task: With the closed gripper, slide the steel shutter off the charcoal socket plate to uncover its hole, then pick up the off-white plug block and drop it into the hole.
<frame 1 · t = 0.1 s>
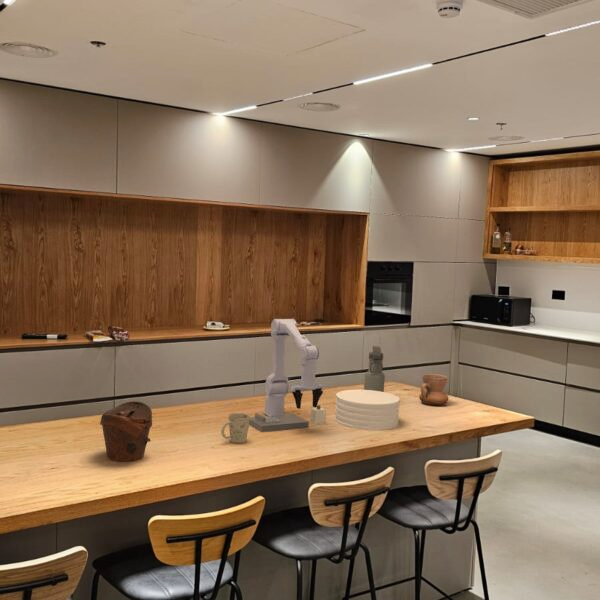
hand: (306, 407, 290), 10 cm above the kitchen island, tool pointing down, fingers open, 7 cm apart
brown rounded container: (125, 456, 247), on the kitchen island
grey stone figurine: (373, 403, 348), on the kitchen island
shutter: (267, 417, 295), point 4 cm above the kitchen island, slide at 0.0 cm
ceramic jug: (432, 404, 355), on the kitchen island
plug: (317, 422, 306), on the kitchen island
mug: (234, 442, 271), on the kitchen island
socket: (277, 425, 298), on the kitchen island
plate stack: (366, 422, 313), on the kitchen island
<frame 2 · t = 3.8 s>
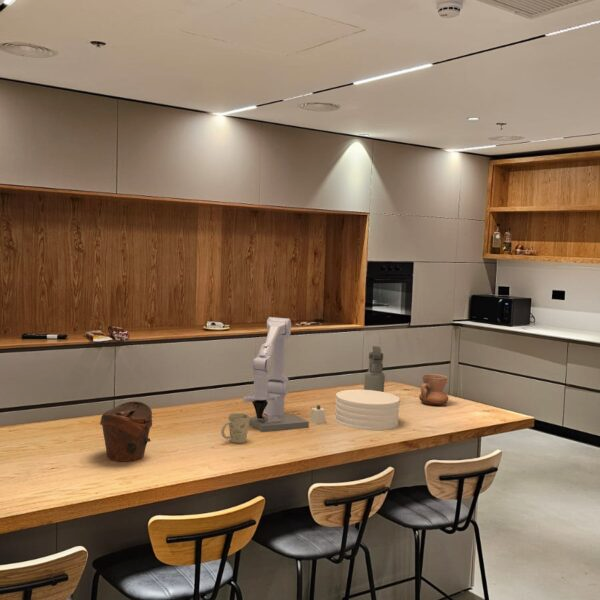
hand: (259, 418, 293), 4 cm above the kitchen island, tool pointing down, fingers closed
shutter: (269, 417, 296), point 4 cm above the kitchen island, slide at 1.0 cm, touching gripper
everything else where it was.
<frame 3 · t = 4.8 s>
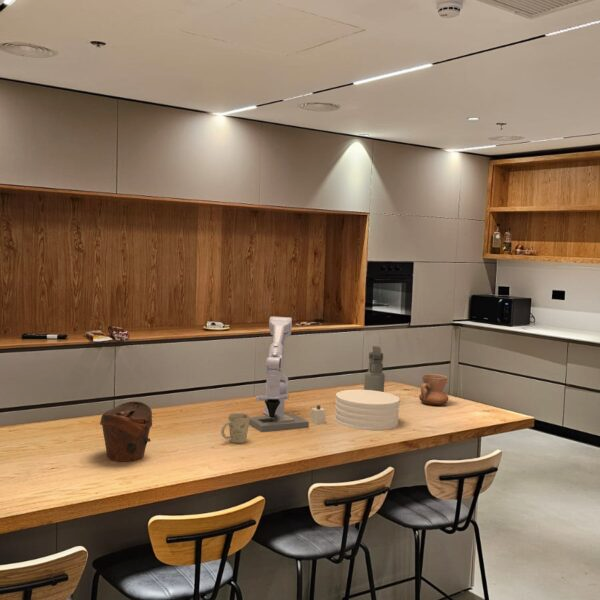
hand: (271, 416, 296), 4 cm above the kitchen island, tool pointing down, fingers closed
shutter: (281, 416, 298), point 4 cm above the kitchen island, slide at 6.7 cm, touching gripper
everything else where it was.
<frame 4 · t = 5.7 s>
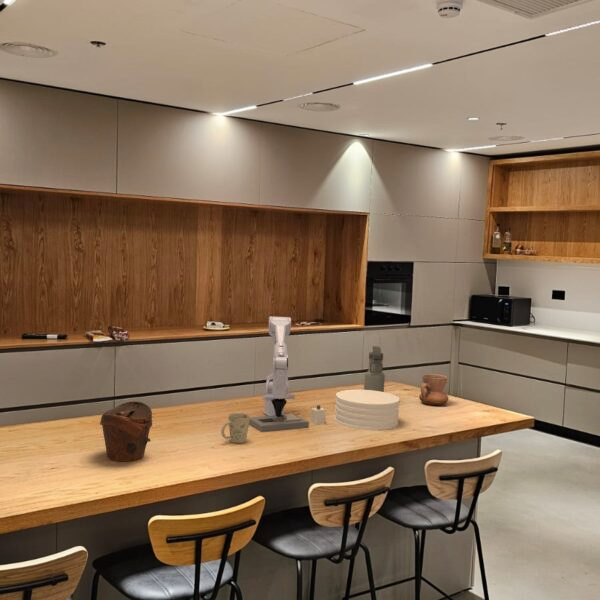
hand: (278, 416, 298), 4 cm above the kitchen island, tool pointing down, fingers closed
shutter: (288, 416, 300), point 4 cm above the kitchen island, slide at 9.8 cm, touching gripper
everything else where it was.
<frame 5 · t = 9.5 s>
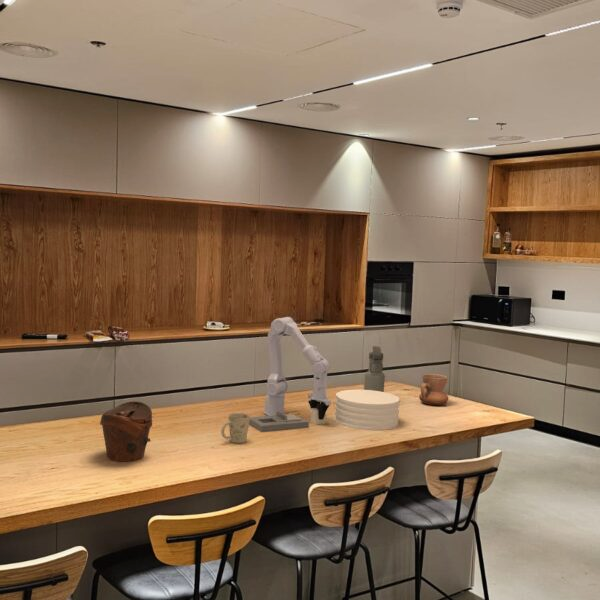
hand: (318, 417, 306), 2 cm above the kitchen island, tool pointing down, fingers closed on plug, 4 cm apart
shutter: (288, 415, 300), point 4 cm above the kitchen island, slide at 9.9 cm
plug: (317, 422, 306), on the kitchen island, touching gripper
everything else where it was.
when the fingers open (3 cm above the kitchen island, at t = 14.1 s): plug stays where it is, resting in socket.
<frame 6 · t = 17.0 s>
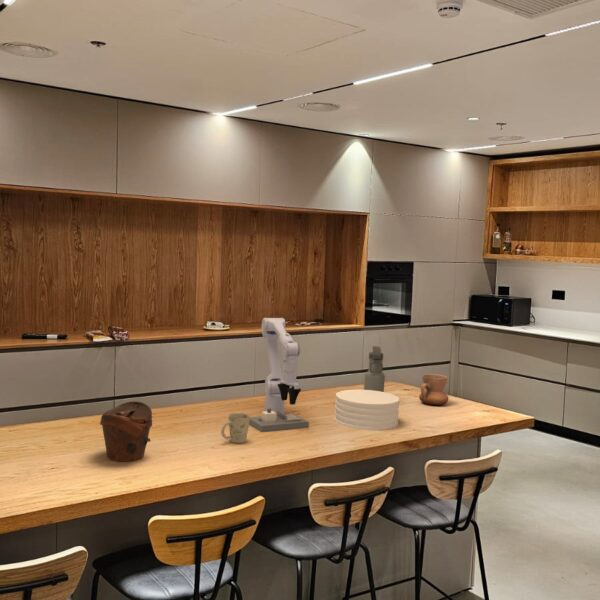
hand: (288, 402, 300), 9 cm above the kitchen island, tool pointing down, fingers open, 7 cm apart
plug: (268, 426, 296), resting in socket
everything else where it was.
at the end: shutter slide at 9.9 cm; plug 0.6 cm from the target spot on the socket, point 0.0 cm above the socket's base; plug tilted 0° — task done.
